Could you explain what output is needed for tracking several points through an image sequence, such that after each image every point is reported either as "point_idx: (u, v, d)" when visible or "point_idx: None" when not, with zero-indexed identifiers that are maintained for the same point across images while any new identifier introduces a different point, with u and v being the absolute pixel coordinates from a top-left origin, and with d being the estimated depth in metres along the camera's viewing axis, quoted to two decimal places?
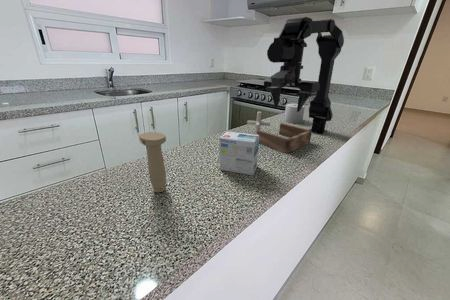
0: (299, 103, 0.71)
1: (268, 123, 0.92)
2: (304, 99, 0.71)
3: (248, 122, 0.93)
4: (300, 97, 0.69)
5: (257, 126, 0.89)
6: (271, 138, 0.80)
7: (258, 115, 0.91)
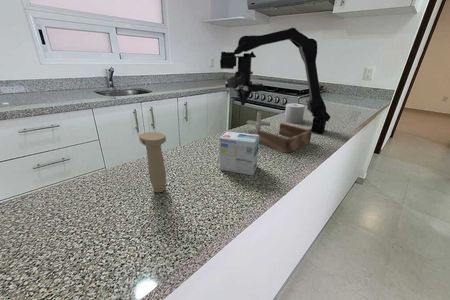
0: (242, 99, 0.95)
1: (268, 123, 0.92)
2: (246, 96, 0.95)
3: (248, 122, 0.93)
4: (242, 94, 0.94)
5: (257, 126, 0.89)
6: (271, 138, 0.80)
7: (258, 115, 0.91)
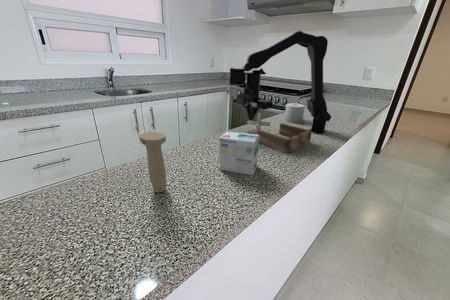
0: (250, 115, 0.94)
1: (268, 123, 0.92)
2: (254, 112, 0.94)
3: (248, 122, 0.93)
4: (250, 110, 0.93)
5: (257, 126, 0.89)
6: (271, 138, 0.80)
7: (259, 115, 0.91)
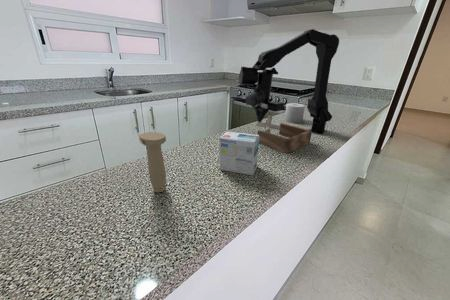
0: (259, 116, 0.90)
1: (278, 127, 0.88)
2: (264, 113, 0.90)
3: (257, 124, 0.89)
4: (260, 112, 0.89)
5: (267, 130, 0.85)
6: (271, 138, 0.80)
7: (269, 118, 0.87)
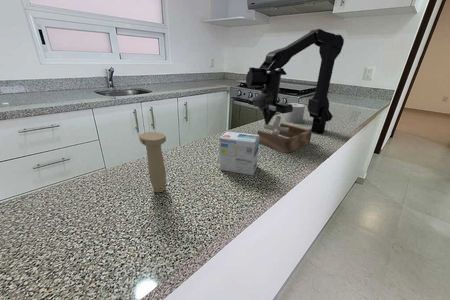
0: (267, 118, 0.87)
1: (286, 129, 0.86)
2: (271, 115, 0.87)
3: (265, 126, 0.86)
4: (267, 113, 0.86)
5: (276, 133, 0.83)
6: (271, 138, 0.80)
7: (277, 120, 0.84)
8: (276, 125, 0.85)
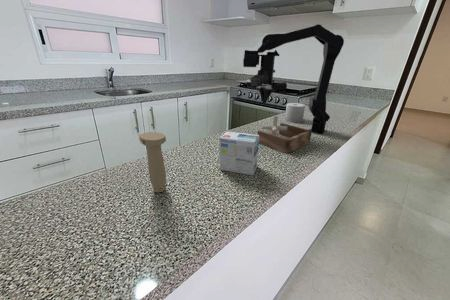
0: (264, 97, 0.96)
1: (285, 128, 0.86)
2: (268, 94, 0.96)
3: (263, 127, 0.87)
4: (264, 92, 0.95)
5: (274, 131, 0.83)
6: (271, 138, 0.80)
7: (274, 119, 0.85)
8: (274, 124, 0.86)
